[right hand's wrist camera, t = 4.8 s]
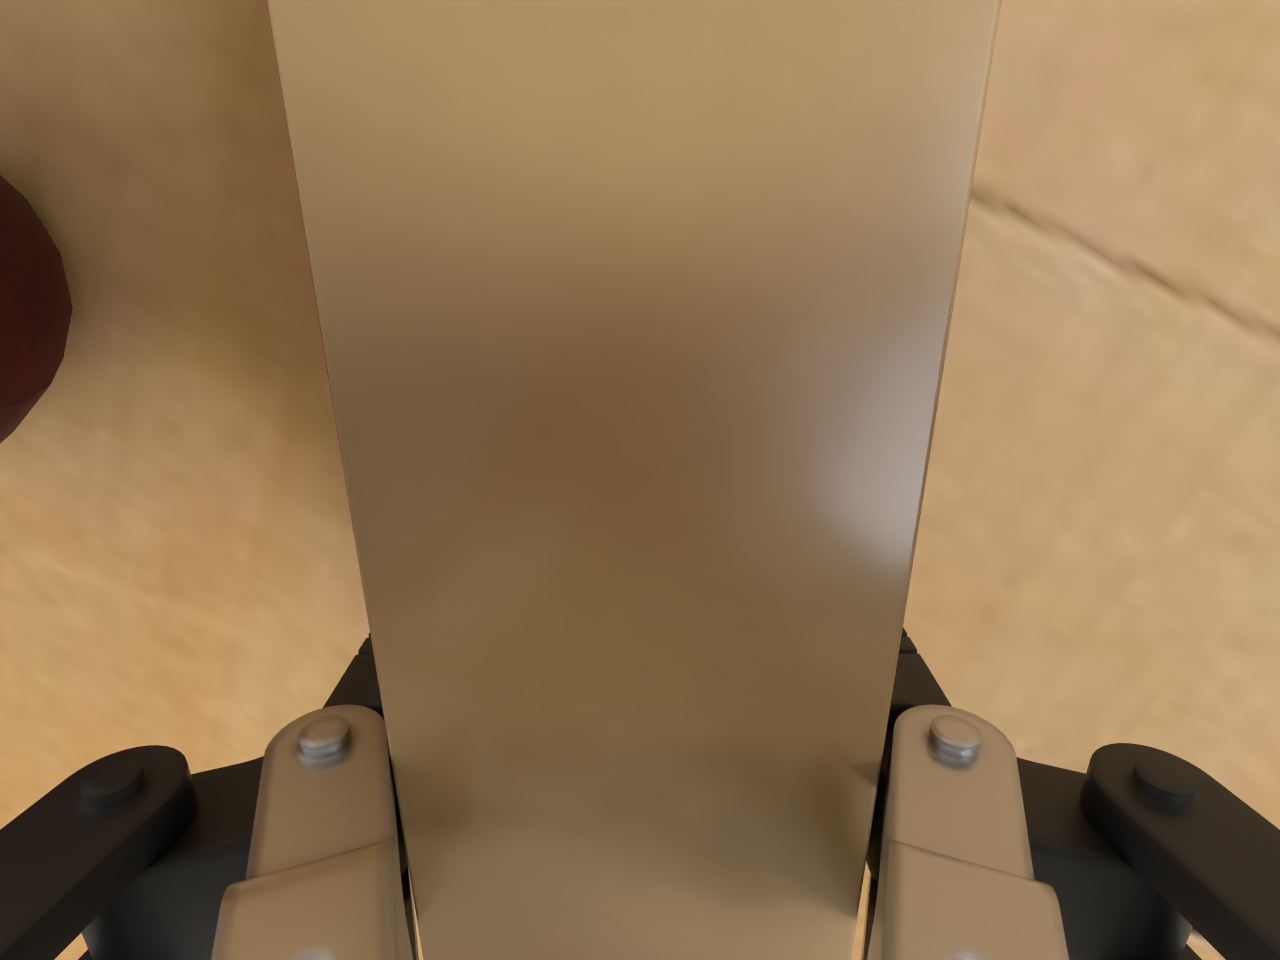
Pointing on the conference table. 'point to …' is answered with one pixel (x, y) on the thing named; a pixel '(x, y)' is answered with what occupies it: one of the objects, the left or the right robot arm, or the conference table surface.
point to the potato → (28, 308)
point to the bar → (635, 437)
